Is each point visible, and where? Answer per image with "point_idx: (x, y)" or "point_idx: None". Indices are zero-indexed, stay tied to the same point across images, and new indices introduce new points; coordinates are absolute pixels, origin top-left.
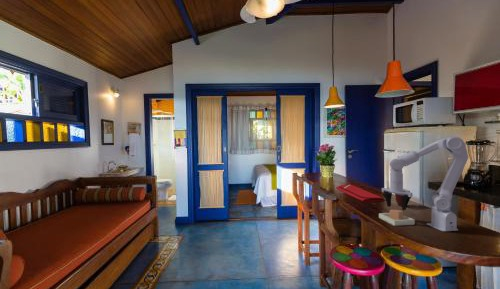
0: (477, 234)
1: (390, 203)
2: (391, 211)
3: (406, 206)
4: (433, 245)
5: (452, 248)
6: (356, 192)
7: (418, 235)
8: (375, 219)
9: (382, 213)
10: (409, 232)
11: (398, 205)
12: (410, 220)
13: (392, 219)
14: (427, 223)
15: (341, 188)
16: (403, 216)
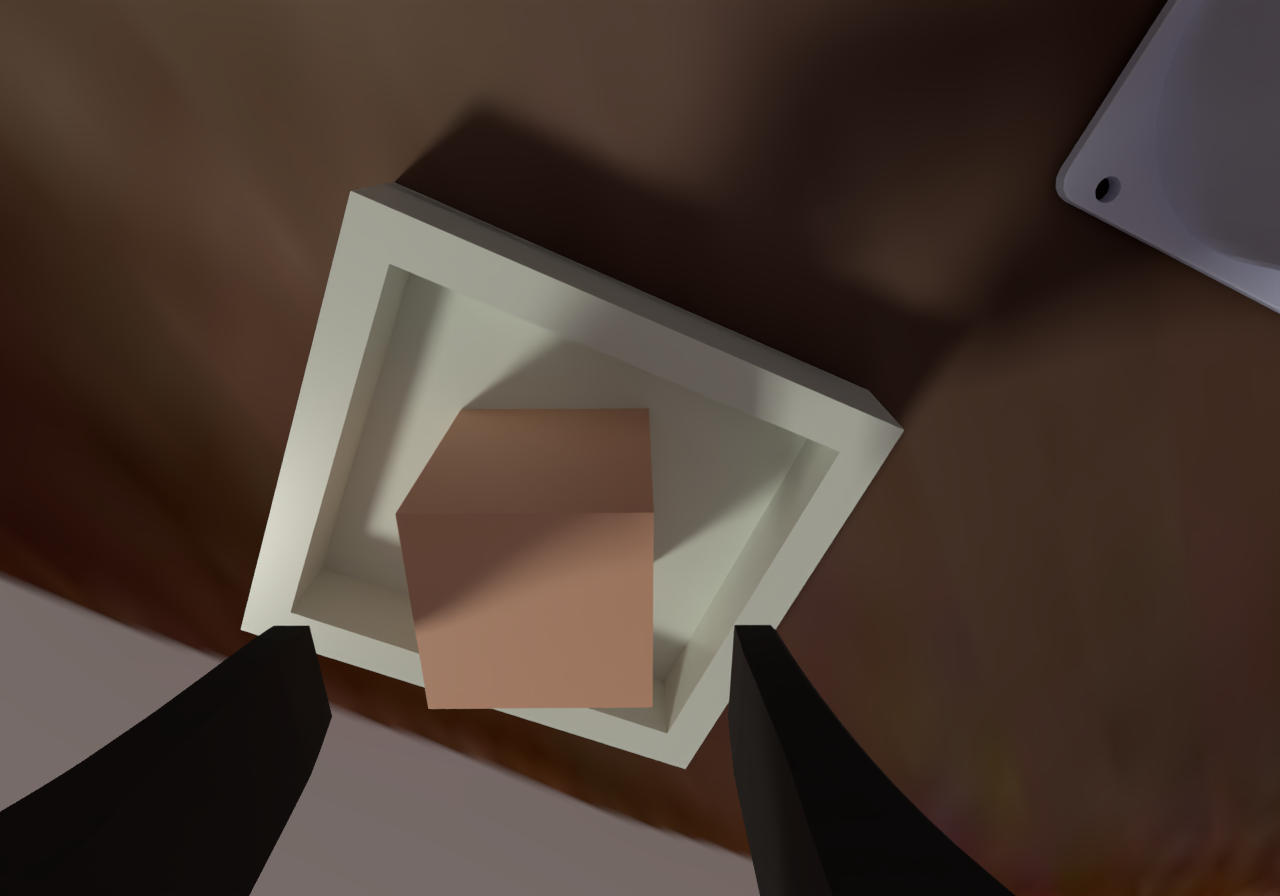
0: None
1: (267, 698)
2: (481, 690)
3: (811, 693)
4: (1235, 879)
5: None
6: None
7: (1047, 762)
8: (324, 670)
9: (271, 576)
10: (929, 756)
11: None
12: (845, 512)
13: (620, 734)
14: (1076, 163)
15: None
16: (613, 350)
